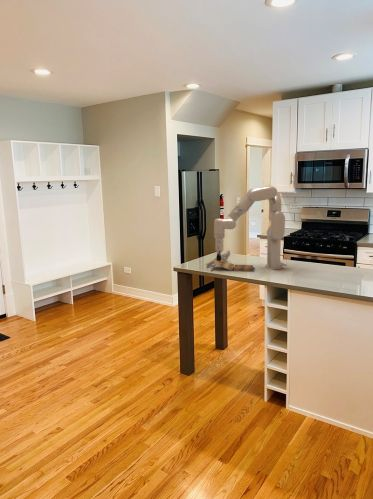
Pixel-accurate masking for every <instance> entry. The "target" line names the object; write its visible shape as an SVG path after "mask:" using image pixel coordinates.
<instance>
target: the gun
mask: <svg viewBox="0 0 373 499" xmlns="http://www.w3.org/2000/svg"><path fill="white" fill-rule="evenodd" d="M230 256H231V252H230V250H227V251H226V252H224V253H223V254H222V253H221V260H223V261H226V262H227V260H228V259H229V257H230ZM215 258H217V256H216V257H215ZM215 258H214V259H215ZM214 259H212V260H210V261H208V262H206V264H205V267H206V268H207V269H209V268H210V267H212V266H213V265H214V264H212V263H213V261H214Z"/></svg>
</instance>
